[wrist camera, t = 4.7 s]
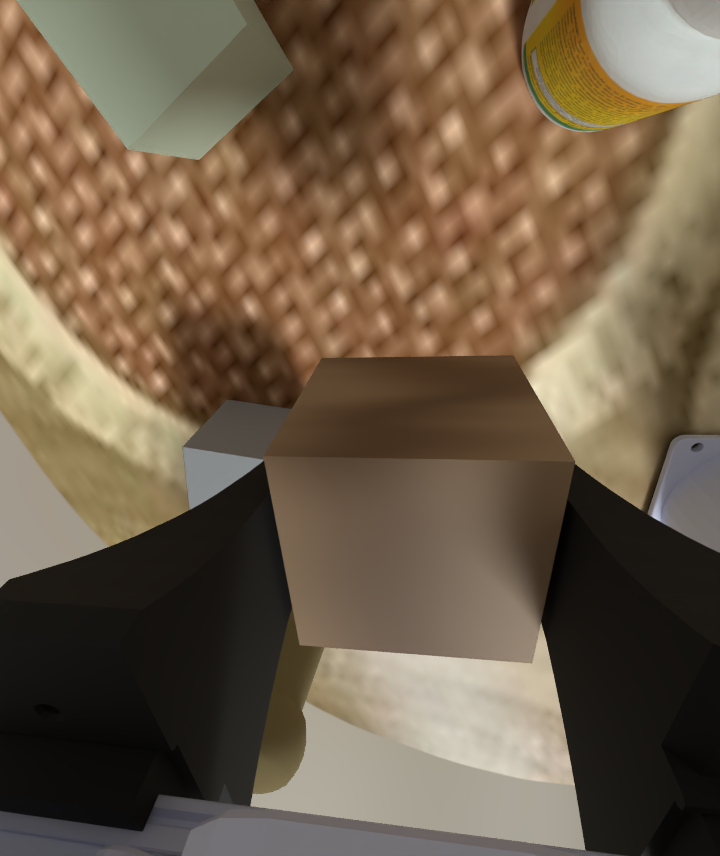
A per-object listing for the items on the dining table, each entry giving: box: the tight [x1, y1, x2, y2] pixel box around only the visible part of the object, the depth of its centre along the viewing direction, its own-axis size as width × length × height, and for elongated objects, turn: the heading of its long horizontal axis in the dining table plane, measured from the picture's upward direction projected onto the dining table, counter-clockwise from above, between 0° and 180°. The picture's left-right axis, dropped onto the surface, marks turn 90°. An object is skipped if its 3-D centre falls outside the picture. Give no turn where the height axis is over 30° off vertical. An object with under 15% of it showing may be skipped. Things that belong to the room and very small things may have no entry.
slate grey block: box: [183, 399, 291, 509], centre depth 22 cm, size 5×5×5 cm
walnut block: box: [263, 356, 575, 663], centre depth 10 cm, size 5×5×5 cm
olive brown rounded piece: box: [252, 608, 324, 794], centre depth 24 cm, size 6×6×11 cm
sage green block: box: [17, 0, 294, 160], centre depth 14 cm, size 5×5×5 cm
